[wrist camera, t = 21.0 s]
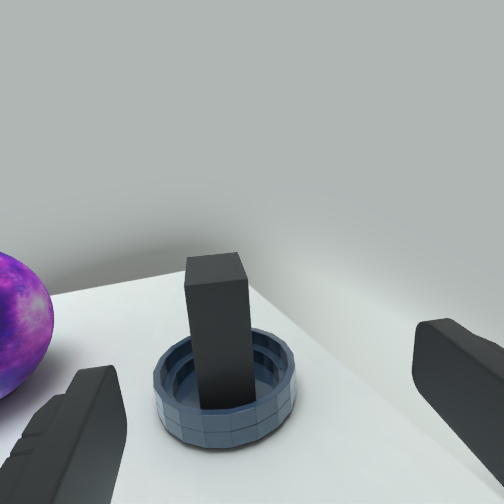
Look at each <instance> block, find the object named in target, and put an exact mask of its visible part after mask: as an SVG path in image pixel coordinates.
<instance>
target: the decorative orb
mask: <svg viewBox="0 0 504 504" xmlns="http://www.w3.org/2000/svg"><path fill="white" fill-rule="evenodd" d="M53 328H54V311H53V305H52V302H51V298H50V296H49V294H48V291H47V289H46V288H45V286H44V285H43V283H42V281H41V280H40V279H39V278H38V277H37V275H36V274H35V273H34V272H33V271H32V270H31V269H29V268H28V267H27V266H26V265H24V264H23V263H21V262H20V261H18V260H16V259H15V258H13V257H11V256H8V255H6V254H4V253H2V252H0V399H1V398H3V397H4V396H6V395H7V394H9V393H10V392H12V391H13V390H14V389H16V388H17V387H18V386H19V385H20V384H21V383H23V382H24V381H25V380H26V379H27V378H28V377H29V376H30V375H31V373H32V372H33V371H34V370H35V369H36V367H37V366H38V365H39V363H40V362H41V360H42V358H43V357H44V355H45V353H46V351H47V349H48V346H49V344H50V341H51V338H52V333H53Z"/></svg>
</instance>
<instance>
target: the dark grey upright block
mask: <svg viewBox="0 0 504 504" xmlns="http://www.w3.org/2000/svg"><path fill="white" fill-rule="evenodd" d="M184 289H185V297H186V304H187V312H188V319H189V327H190V334H191V342H192V349H193V357H194V364H195V372H196V379H197V387H198V394H199V402H200V409H203V410H216V409H232V408H235V407H239V406H243V405H246V404H250V403H253V402H255V401H256V389H255V375H254V361H253V347H252V332H251V318H250V304H249V289H248V278H247V276H246V273H245V271H244V268H243V265H242V263H241V260H240V258H239V255H238V253H237V252H234V253H225V254H215V255H206V256H197V257H188V258H187V263H186V272H185V282H184Z"/></svg>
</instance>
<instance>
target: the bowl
mask: <svg viewBox="0 0 504 504" xmlns="http://www.w3.org/2000/svg"><path fill="white" fill-rule="evenodd" d="M251 332H252V347H253V361H254V375H255V389H256V401H255V402H253V403H250V404H246V405H243V406H239V407H235V408H232V409H216V410H203V409H200V402H199V394H198V387H197V379H196V372H195V364H194V357H193V349H192V342H191V336H188V337H186V338H184V339H183V340H181V341H180V342H178V343H176V344H175V345H173V346H172V347H170V348H169V349H168V350H167V351H166V352H165V353H164V354H163V355H162V356H161V357H160V359H159V361H158V363H157V365H156V367H155V370H154V372H153V386H154V392H155V397H156V403H157V408H158V414H159V417H160V418H161V420H162V422H163V424H164V425H165V427H166V429H167V430H168V431H169V432H170V433H171V434H173V435H174V436H176V437H177V438H179V439H180V440H181V441H183V442H185V443H189V444H193V445H196V446H200V447H204V448H232V447H236V446H239V445H243V444H246V443H249V442H252V441H256V440H257V439H260V438H262V437H263V436H265V435H266V434H268V433H270V432H271V431H273V430H274V429H276V428H277V427H278V426H279V425H280V424H281V423H282V422H283V420H284V419H285V418H286V417H287V415H288V414H289V413H290V412H291V410H292V406H293V403H294V400H295V397H296V381H295V380H296V379H295V362H294V356H293V353H292V351H291V350H290V349H289V347H288V346H287V344H286V343H285V342H284V341H283V340H281V339H280V338H278V337H277V336H275V335H274V334H272V333H269V332H266V331H263V330H260V329H256V328H251Z"/></svg>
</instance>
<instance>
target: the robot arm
mask: <svg viewBox="0 0 504 504" xmlns="http://www.w3.org/2000/svg"><path fill="white" fill-rule="evenodd" d="M412 376H413V380H414V383H415V386H416V388H417V389H418V391H419V393H420V394H421V395H422V396H423V398H424V399H425V400H426V401H427V402H428V403H429V404H430V405H431V406H432V407H433V409H434V410H435V411H436V412H437V413H438V414H439V415H440V416H441V418H442V419H443V420H444V421H445V422H446V423H447V424H448V425H449V427H451V429H452V430H453V431H454V432H455V433H456V434H457V435H458V437H459V438H460V439H461V440H462V441H463V442H464V443H465V444H466V445H467V446H468V448H469V449H470V450H471V451H472V452H473V453H474V454H475V456H477V458H478V459H479V460H480V461H481V462H482V463H483V464H484V465H485V467H486V468H487V469H488V470H489V471H490V472H491V473H492V474H493V476H494V477H495V478H496V479H497V480H498V481H499V482H500V483H501V484H502V486H503V487H504V348H502V347H500V346H499V345H498V344H496V343H494V342H491V341H489V340H487V339H484V338H482V337H479V336H477V335H475V334H473V333H471V332H470V331H468V330H467V329H466V328H464V327H462V326H461V325H459V324H458V323H457V322H455V321H454V320H452V319H449V318H444V319H438V320H431V321H423V322H420V323H419V324H418V325H417V327H416V332H415V342H414V352H413V364H412ZM126 436H127V419H126V413H125V408H124V404H123V399H122V395H121V390H120V386H119V382H118V377H117V373H116V370H115V368H114V366H113V365H108V366H101V367H94V368H87V369H80V370H78V371H77V373H76V374H75V376H74V378H73V380H72V382H71V383H70V385H69V387H68V389H67V391H66V393H65V394H60V395H54V396H53V397H52V398H51V399H50V400H49V401H48V402H47V403H46V404H45V405H43V406H42V407H41V408H40V409H39V410H38V411H37V412H36V413H35V414H34V415H33V417H32V418H31V420H30V422H29V423H28V425H27V427H26V428H25V430H24V431H23V433H22V437H21V439H18V441H17V443H16V444H15V446H14V447H13V449H12V451H11V452H10V457H8V458H7V459H6V460H5V462H4V463H3V465H2V467H1V468H0V504H110V503H111V499H112V495H113V491H114V487H115V483H116V479H117V475H118V471H119V467H120V463H121V459H122V455H123V451H124V447H125V443H126Z"/></svg>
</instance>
